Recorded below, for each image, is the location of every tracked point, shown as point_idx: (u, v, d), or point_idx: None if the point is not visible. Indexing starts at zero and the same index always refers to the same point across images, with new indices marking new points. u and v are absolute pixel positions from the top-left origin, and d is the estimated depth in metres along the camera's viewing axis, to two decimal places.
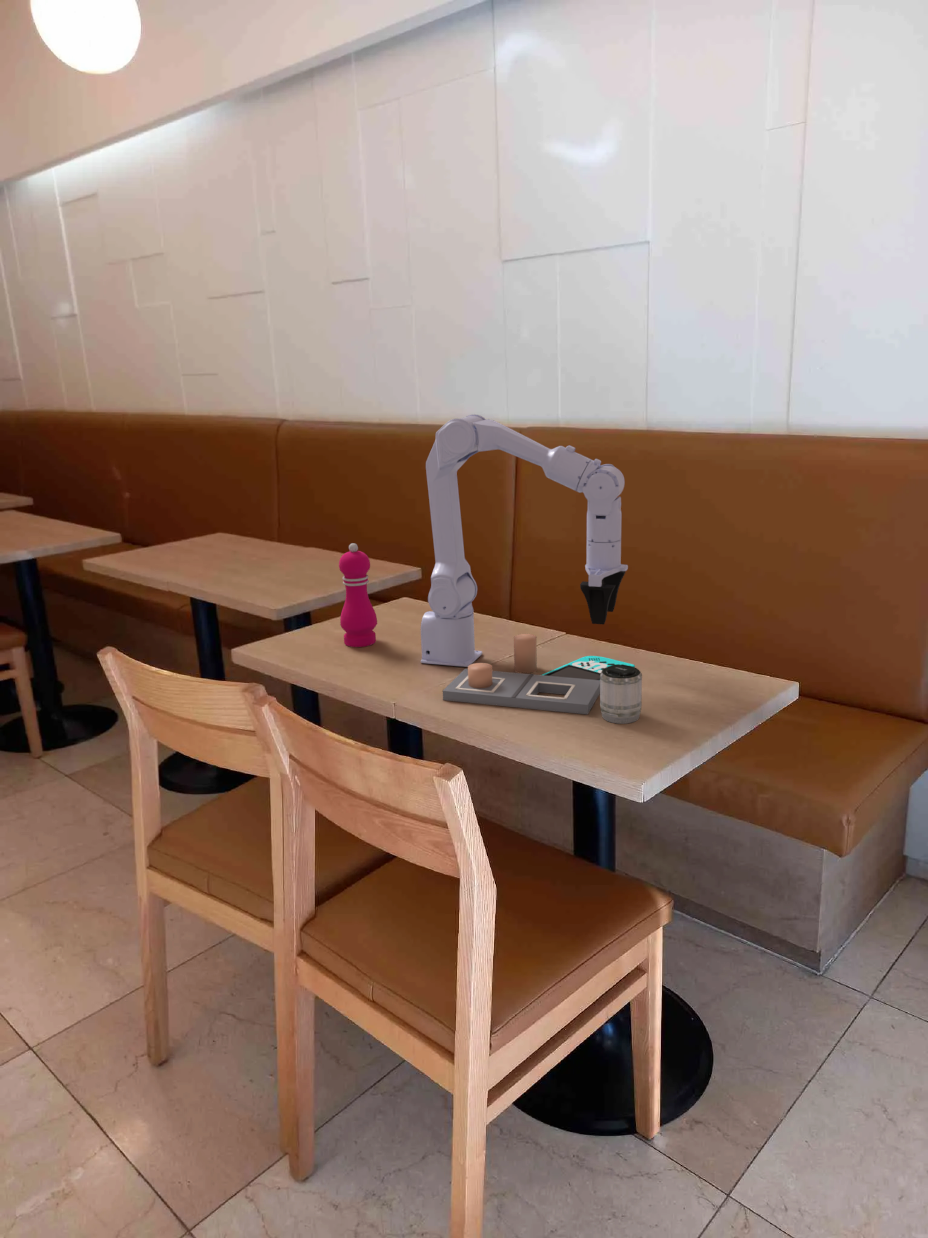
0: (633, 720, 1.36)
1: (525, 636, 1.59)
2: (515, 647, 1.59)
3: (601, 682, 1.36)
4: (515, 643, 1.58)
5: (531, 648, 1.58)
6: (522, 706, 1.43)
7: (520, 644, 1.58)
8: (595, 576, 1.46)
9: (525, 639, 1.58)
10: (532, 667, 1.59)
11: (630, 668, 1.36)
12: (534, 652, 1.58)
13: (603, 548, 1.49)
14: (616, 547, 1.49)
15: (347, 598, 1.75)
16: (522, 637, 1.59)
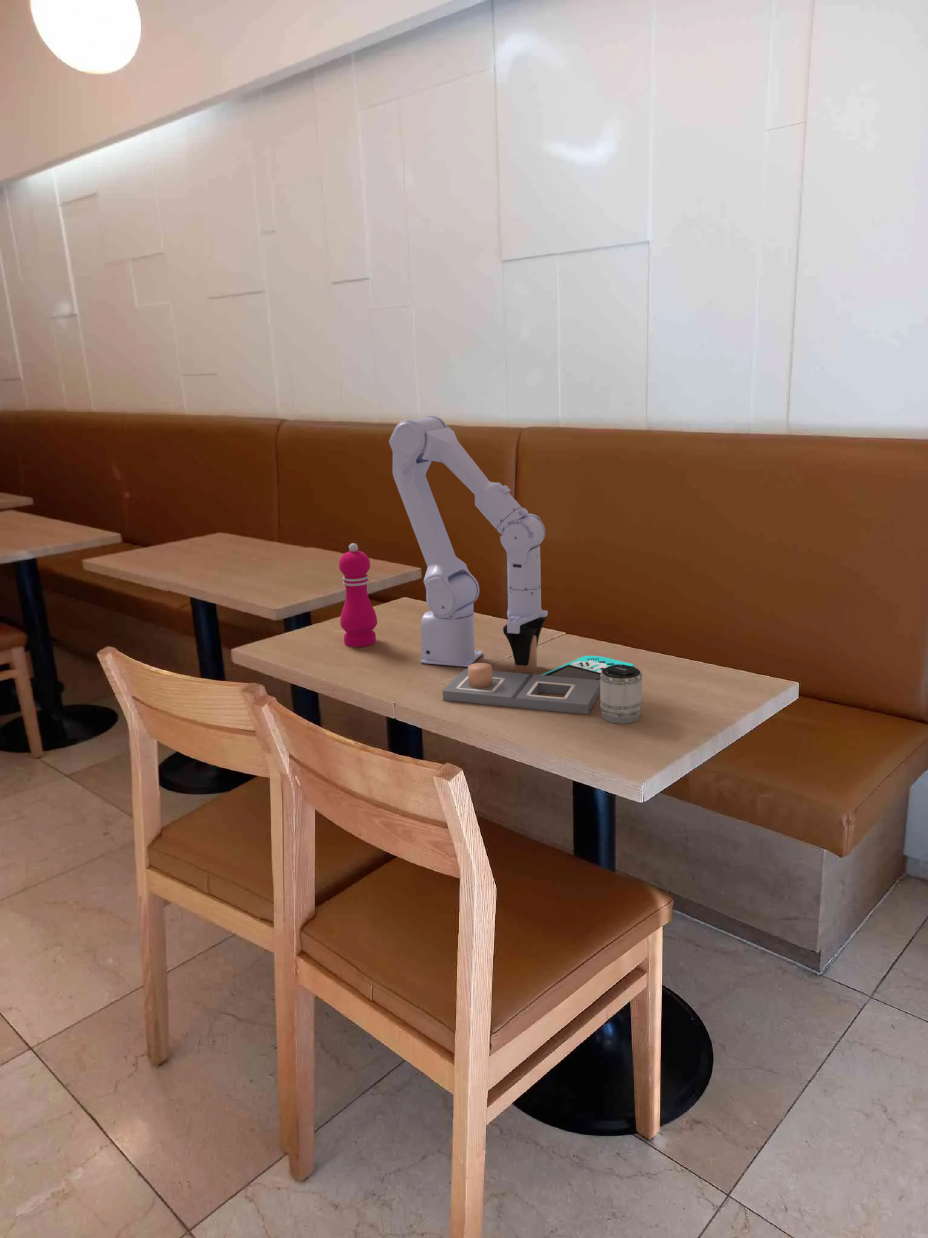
0: (633, 720, 1.36)
1: None
2: None
3: (601, 682, 1.36)
4: None
5: (531, 648, 1.58)
6: (522, 706, 1.43)
7: None
8: (513, 623, 1.51)
9: None
10: (532, 667, 1.59)
11: (630, 668, 1.36)
12: (534, 652, 1.58)
13: (522, 595, 1.54)
14: (535, 595, 1.55)
15: (347, 598, 1.75)
16: None
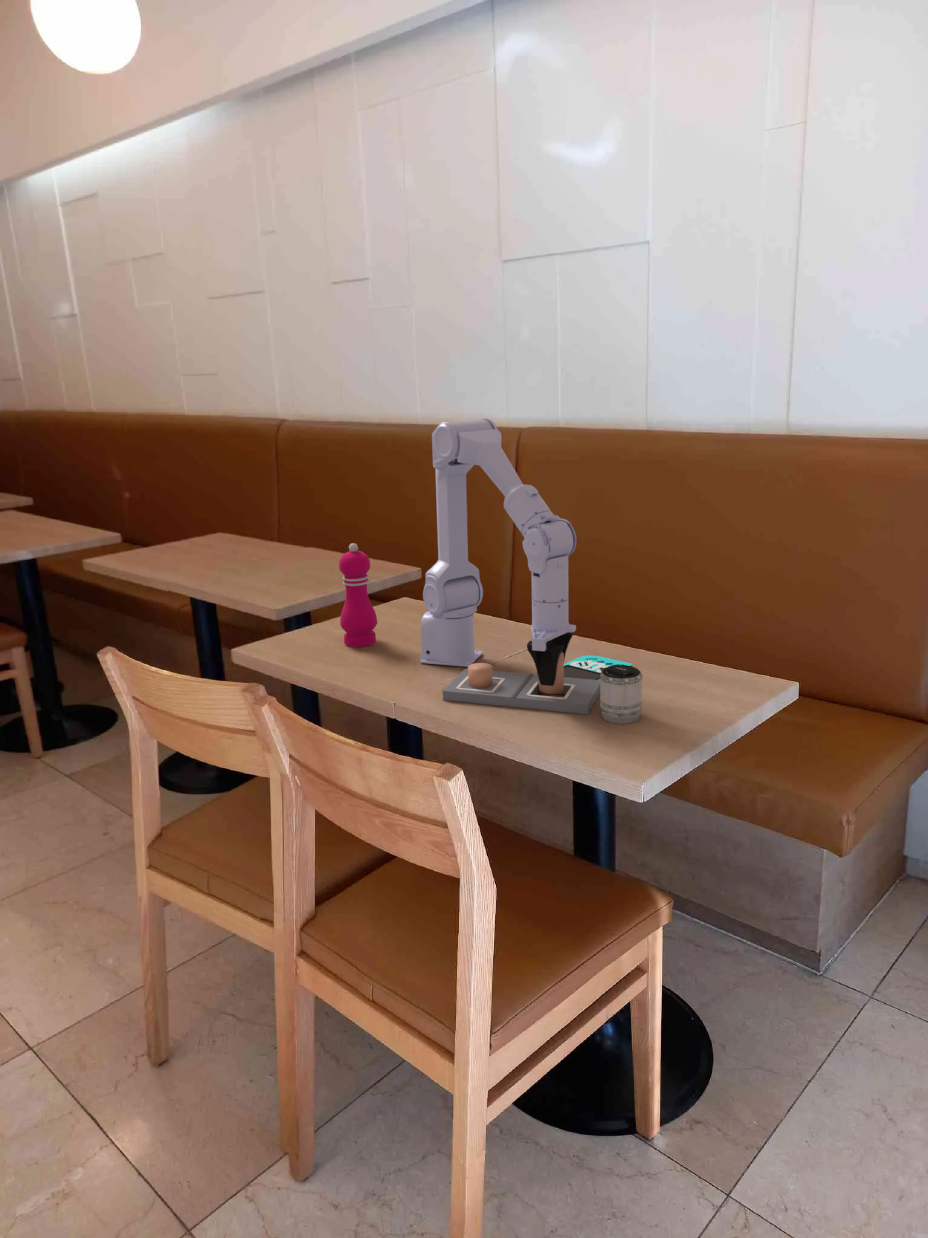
0: (633, 720, 1.36)
1: None
2: None
3: (601, 682, 1.36)
4: None
5: (558, 666, 1.43)
6: (522, 706, 1.43)
7: None
8: (539, 640, 1.36)
9: None
10: (559, 687, 1.44)
11: (630, 668, 1.36)
12: (561, 671, 1.43)
13: (548, 609, 1.39)
14: (563, 608, 1.40)
15: (347, 598, 1.75)
16: None
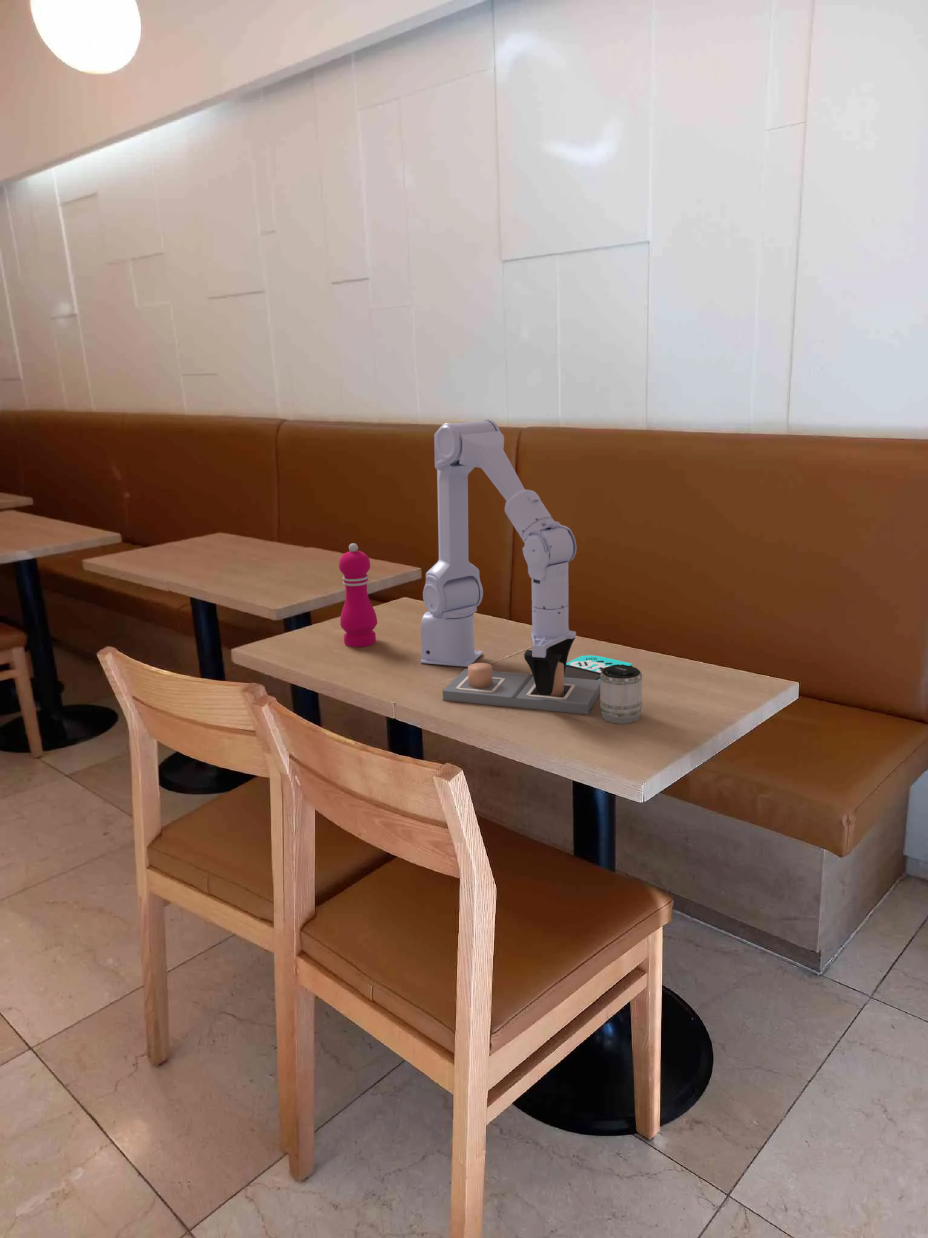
0: (633, 720, 1.36)
1: None
2: None
3: (601, 682, 1.36)
4: None
5: (558, 677, 1.43)
6: (522, 706, 1.43)
7: None
8: (539, 646, 1.37)
9: None
10: None
11: (630, 668, 1.36)
12: (561, 682, 1.44)
13: (548, 615, 1.39)
14: (563, 614, 1.40)
15: (347, 598, 1.75)
16: None
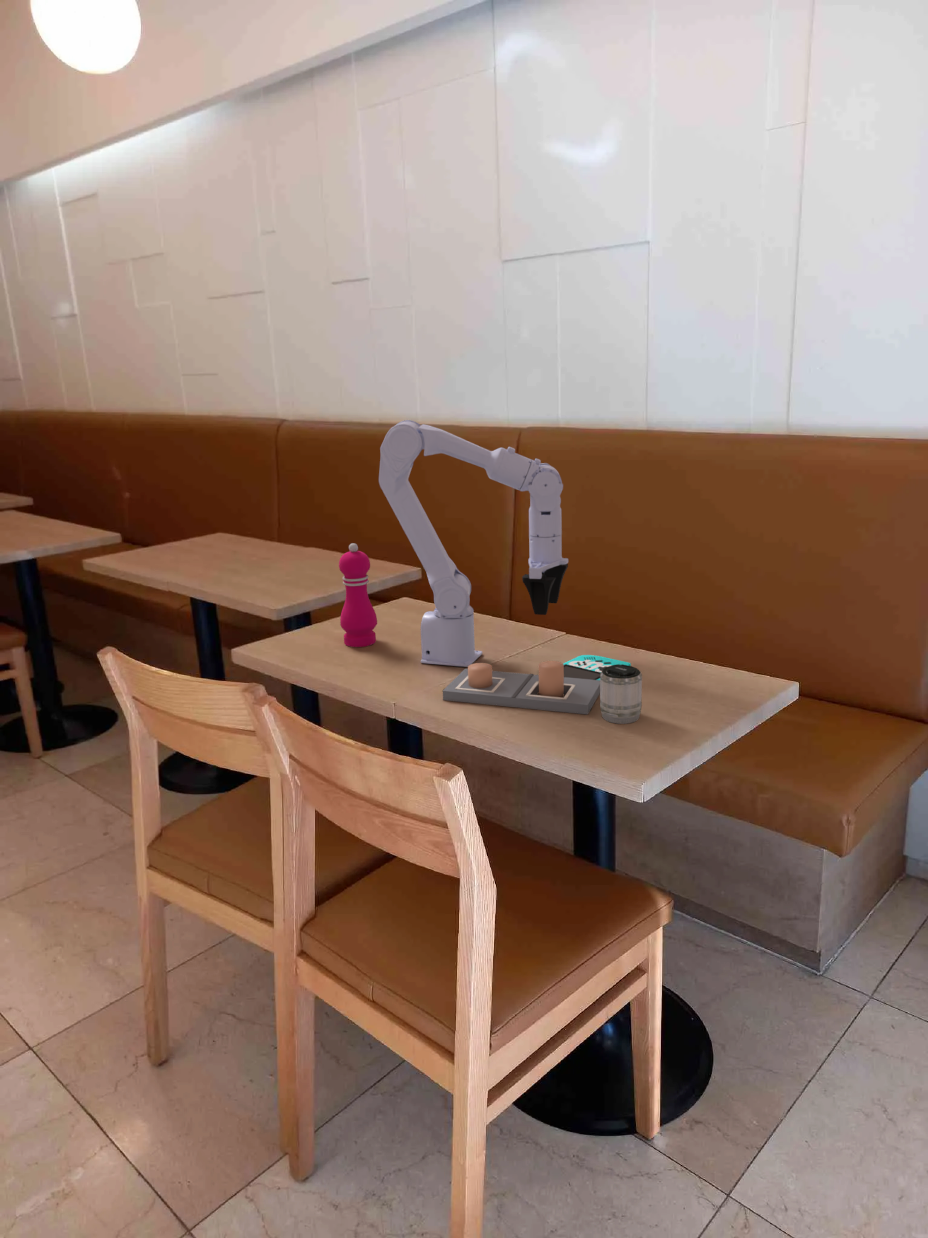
0: (633, 720, 1.36)
1: (551, 664, 1.45)
2: (540, 676, 1.44)
3: (601, 682, 1.36)
4: (540, 671, 1.44)
5: (558, 677, 1.43)
6: (522, 706, 1.43)
7: (546, 673, 1.43)
8: (535, 569, 1.54)
9: (551, 667, 1.43)
10: None
11: (630, 668, 1.36)
12: (561, 682, 1.44)
13: (544, 542, 1.57)
14: (556, 542, 1.58)
15: (347, 598, 1.75)
16: (548, 665, 1.45)
